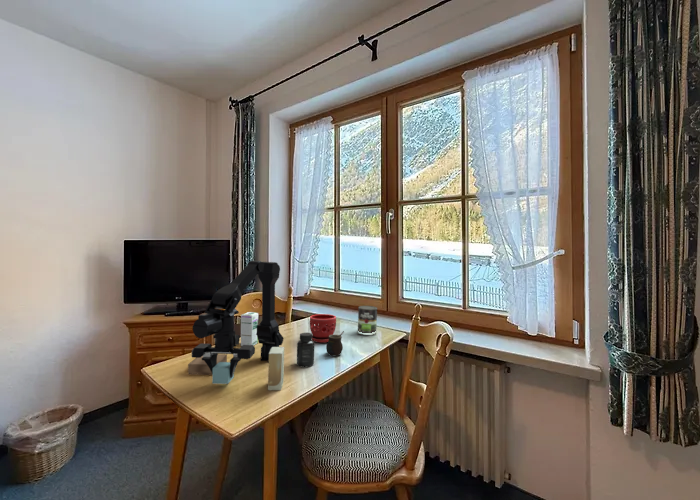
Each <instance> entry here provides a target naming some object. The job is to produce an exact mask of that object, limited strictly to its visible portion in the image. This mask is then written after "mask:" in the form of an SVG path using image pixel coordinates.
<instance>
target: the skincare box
mask: <svg viewBox="0 0 700 500" xmlns="http://www.w3.org/2000/svg"><path fill="white" fill-rule="evenodd" d="M284 366H285V347H284V346H279V347H272V348H271V350H270V352H269V361H268V374H267V375H268V377H267V379H268V380H267V390H268V391H281V390H282V389H283V385H284V375H285V374H284V372H285V371H284V369H285V367H284Z"/></svg>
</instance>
